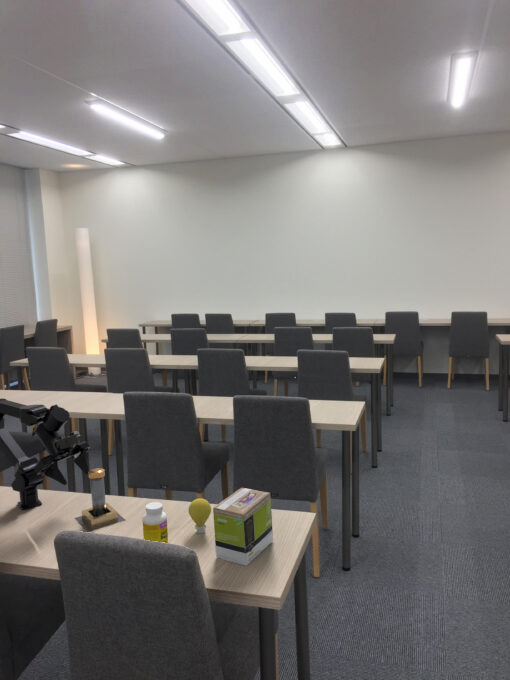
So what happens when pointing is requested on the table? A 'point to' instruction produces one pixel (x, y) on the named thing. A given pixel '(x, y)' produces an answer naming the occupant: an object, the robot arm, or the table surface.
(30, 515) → the table surface
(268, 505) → the tea box
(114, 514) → the tan square base
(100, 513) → the copper capped grey cylinder
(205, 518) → the light bulb
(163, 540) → the supplement bottle
